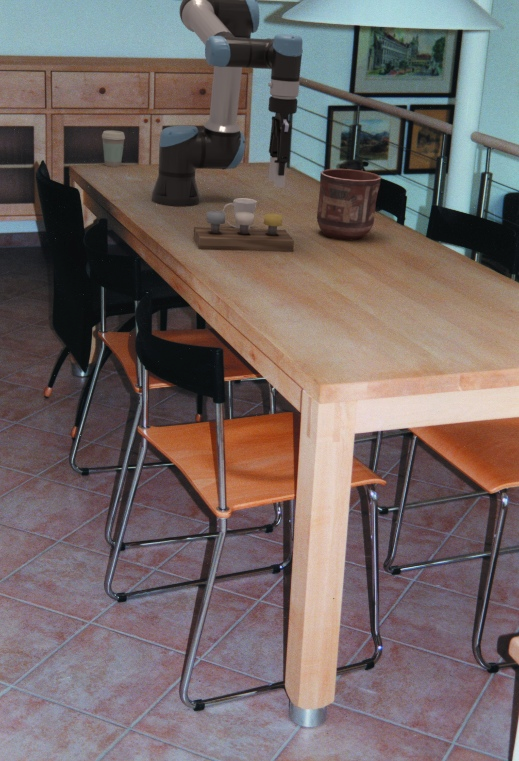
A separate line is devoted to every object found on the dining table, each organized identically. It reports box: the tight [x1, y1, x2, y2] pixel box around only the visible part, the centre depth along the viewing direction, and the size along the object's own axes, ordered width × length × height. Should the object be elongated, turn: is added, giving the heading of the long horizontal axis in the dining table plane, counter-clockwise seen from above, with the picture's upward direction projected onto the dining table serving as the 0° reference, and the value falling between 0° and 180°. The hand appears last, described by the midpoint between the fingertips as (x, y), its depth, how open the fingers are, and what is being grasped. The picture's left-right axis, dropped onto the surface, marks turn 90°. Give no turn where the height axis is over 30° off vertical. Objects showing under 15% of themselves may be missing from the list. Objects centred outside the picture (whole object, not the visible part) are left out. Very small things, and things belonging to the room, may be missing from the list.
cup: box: [222, 197, 258, 229], centre depth 287 cm, size 7×10×8 cm
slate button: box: [206, 210, 226, 233], centre depth 267 cm, size 5×5×5 cm
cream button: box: [234, 212, 255, 234], centre depth 269 cm, size 5×5×5 cm
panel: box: [193, 226, 295, 252], centre depth 271 cm, size 12×26×3 cm, turn 101°
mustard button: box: [263, 212, 284, 235], centre depth 271 cm, size 5×5×5 cm
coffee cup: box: [101, 130, 126, 168], centre depth 359 cm, size 8×8×12 cm
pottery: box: [316, 168, 382, 241], centre depth 287 cm, size 18×18×18 cm
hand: (276, 184), depth 266 cm, fingers open, 7 cm apart
